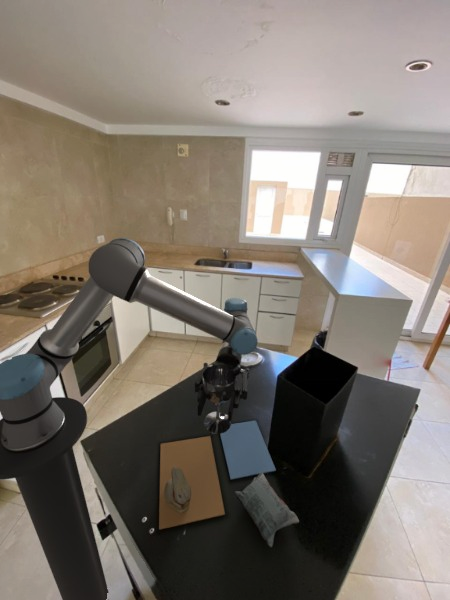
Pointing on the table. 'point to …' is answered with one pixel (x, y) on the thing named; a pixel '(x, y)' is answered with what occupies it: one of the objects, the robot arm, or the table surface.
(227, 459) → the mat blue
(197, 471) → the mat brown
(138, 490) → the table surface
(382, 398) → the table surface
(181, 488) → the grey stone figurine
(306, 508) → the table surface
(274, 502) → the packaged food
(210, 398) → the wine glass
